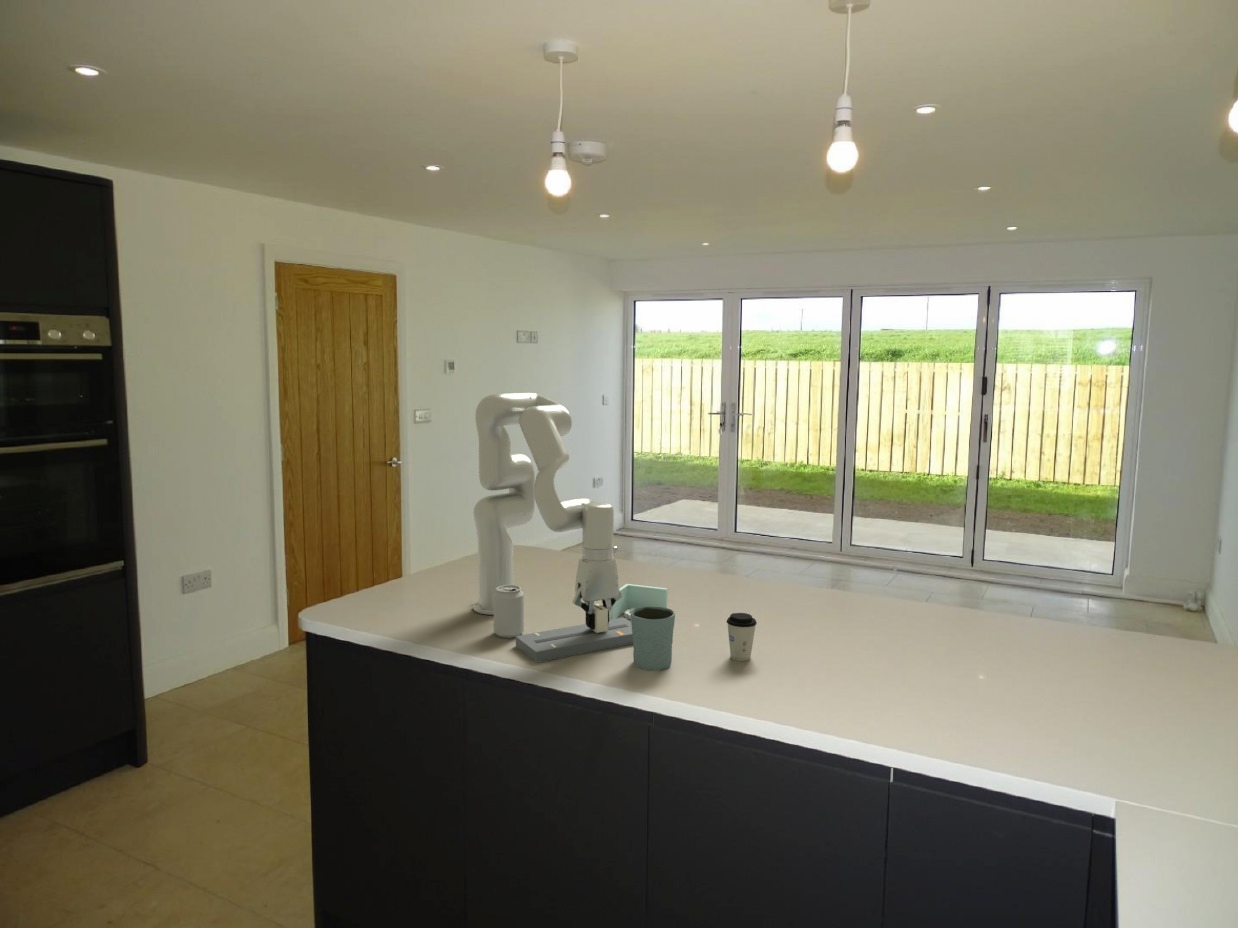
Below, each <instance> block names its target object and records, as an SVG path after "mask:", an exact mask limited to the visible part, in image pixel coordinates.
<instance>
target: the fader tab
mask: <svg viewBox="0 0 1238 928" xmlns="http://www.w3.org/2000/svg"><path fill="white" fill-rule="evenodd" d="M593 613H594V614H595V629H593V631H595V632H596V633H599V632H604V631H608V609H607V608H605V607H603V606H602V604H600V603H594V607H593ZM588 628H589V627H588Z"/></svg>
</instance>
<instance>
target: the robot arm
mask: <svg viewBox="0 0 1238 928" xmlns="http://www.w3.org/2000/svg"><path fill="white" fill-rule="evenodd" d="M474 420H475V426H476V431H477V436H478V477H479V483H480V485H481V487H482V488H483V489H485V490H486V491H502V490H508V492H506V493H500V494H499V493H498V494H493V495H487V496H485V497H483V498H480V499H479V500H478V501H477V503H476V504H475V505H474V508H473V518H474V519H473V520H474V523H475V524H474V525H475V528H476V535H477V536H476V537H477V557H478V559H477V560H478V563H477V564H478V565H477V566H478V567H477V568H478V569H477V570H478V600H477V601H475V602H474V603H473V604H472V608H473V611H475V612H476V613H478V614H482V615H490V616H494V597H493V595H494V593H495V592H496V591H497V590H496V588H497V587H499V586H503V585H515V584H514V582H515V581H514V544H513V540H512V538H511V537H510V534H508V533H509V532H508V531H507V529H510V528H511V529H512V528H514V527H521V526H524V525H527V524H529V523H530V522H531V520H532V519H533V517H534V514H535V507H536V506H537V508H538V511H539V514H540V516H541V518H542V520H543V522H544V524H545V525H546V527H547V528H548V529H549V530H551V531H553V532H555V533H564V532H568V531H573V530H574V531H575V530H579V529H582V532H581V533H582V534H581V535H582V540H581V541H582V548H581V549H582V552H581V553H582V554H581V555H582V557H581V558H579V559H578V563H577V566H576V567H577V568H576V574H575V585H574V598H573V600H572V604H573V605H575V606H577V607H579V608H581V609H582V610H583V611H584V612H585V624H586V625H587V627H589V628H590V629H592V630H593V629H595V614H594V613H593V607H594V604H595V603H594V602H598V601H601V606H603V607H605V608H607V609H608V622H609V620H610V610H611V607H612V606H613V605H614V604H615V602H616V601H617V600H619V599H620V598H621V597H622V594H621V592H620V590H619V589H620V588H619V587H620V585H619V581H620V580H619V572H618V571H619V570H618V565H617V560H616V558H615V557H614V556H615V553H618V551H619V550H618V549H619V548H618V547H617V546H614V524H615V523H614V517H615V516H614V514H615V513H614V512H615V511H614V507H613V505H612V504H610V503H608V502H605V501H604V502H603V501H602V502H601V501H599V502H597V501H595V500H593V499H591V498H588V497H575V498H570V499H569V498H568V499H564V500H560V497H559V496H558V493H557V490H556V487H555V477H556V473H557V472H558V471H559V470H560V469H562V468H563V467H564V466H566V465H567V463H568V462H569V460H570V455H569V452H568V450H567V448H566V445H565V444H564V440H563V438H562V437H564V436H566V435H567V434H569V432H570V431H571V429H572V426H573V421H572V420H573V419H572V416H571V414H570V412H569V410H568V409H567V408H566V407H565V406H563V405H562V404H560V403H559V402H556V401H554V400H552V399H550V398H548V397H546V396H543V395H541V394H539V393H535V392H532V391H531V392H527V391H526V392H525V391H524V392H523V391H522V392H521V391H520V392H519V391H518V392H499V393H492V394H489V395H486V396H484V397H483V398H482V399H481V400H479V402H478V404H477V407H476V409H475V419H474ZM509 425H510V426H511V425H512V426H513V425H519V428H520V430H521V432H522V434H523V436H524V439H525V441H526V444H527V447H528V449H529V451H530V453H531V455H532V458H533V460H534V463H535V465H536V467H537V474H536V475H535V473H536V472H535V467H534V465H533V463H532V460H531V459H530V457H528V456H527V455H525V454H524V453H519V452H513V453H512V451H511V450H512V449H511V446H512V443H511V437H510V435H509V433H508V431H507V429H506V427H505V426H509ZM535 503H536V506H535ZM581 600H582V601H581Z"/></svg>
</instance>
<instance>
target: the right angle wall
mask: <svg viewBox="0 0 1238 928" xmlns="http://www.w3.org/2000/svg"><path fill="white" fill-rule="evenodd" d="M619 590H620V592H621V594H622V597H621V598H620V599H619V600H617V601H616V602H615V604H614V605H613V606H612V607H611V610H610V611H609V620H611V619H617V618H620V616H622V615H623V617H624V618H625V619H627V620H629V619H630V620H629V621H631V611H632V610H634V609H636V608H640V607H649V606H654V607H664V608H668V593H669V592H668V588H667V587H656V586H649V585H640V584H631V583H625V584H623V586H621V587H620V588H619Z"/></svg>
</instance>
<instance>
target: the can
mask: <svg viewBox="0 0 1238 928" xmlns="http://www.w3.org/2000/svg"><path fill="white" fill-rule="evenodd" d="M496 590H497V591H496V592H495V593H494V595H493V597H494V615H493V633H494V634H495V635H496V636H498V637H500V638H503V639H504V638H505V639H511V638H512V639H513V638H516V636H520V635H522V633H524V631H525V608H524V607H525V606H524V605H525V596H524V595H525V594H524V592H523V591H522V587H521V586H519V585H516V584H514V585H503V586H499V587H497V588H496Z"/></svg>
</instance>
